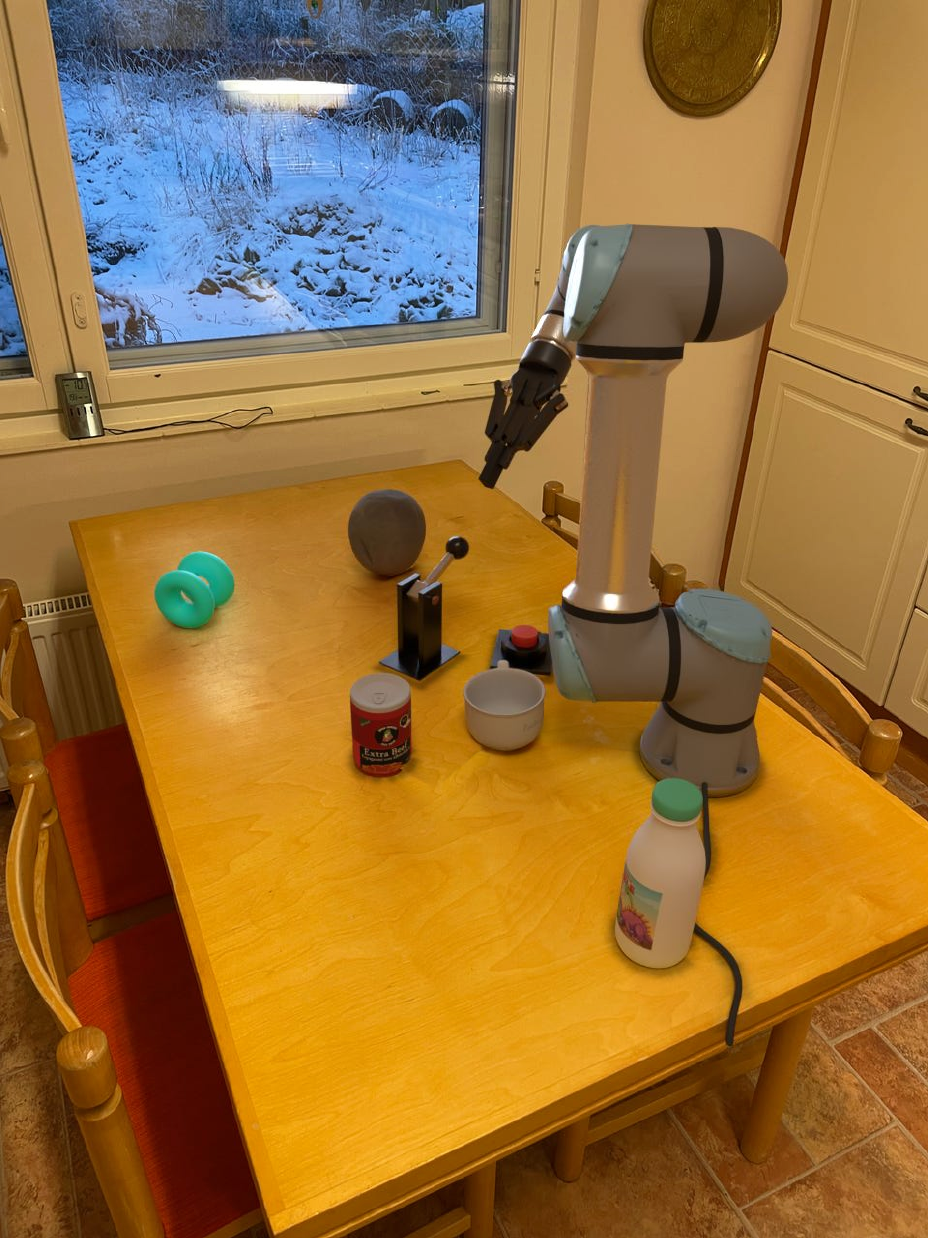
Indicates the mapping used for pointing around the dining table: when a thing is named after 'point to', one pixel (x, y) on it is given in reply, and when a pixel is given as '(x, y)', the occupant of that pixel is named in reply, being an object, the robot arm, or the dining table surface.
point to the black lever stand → (419, 632)
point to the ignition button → (524, 636)
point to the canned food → (381, 724)
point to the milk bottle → (663, 878)
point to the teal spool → (194, 589)
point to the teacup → (504, 707)
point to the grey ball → (387, 531)
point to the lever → (440, 566)
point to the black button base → (523, 654)
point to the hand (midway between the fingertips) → (485, 483)
